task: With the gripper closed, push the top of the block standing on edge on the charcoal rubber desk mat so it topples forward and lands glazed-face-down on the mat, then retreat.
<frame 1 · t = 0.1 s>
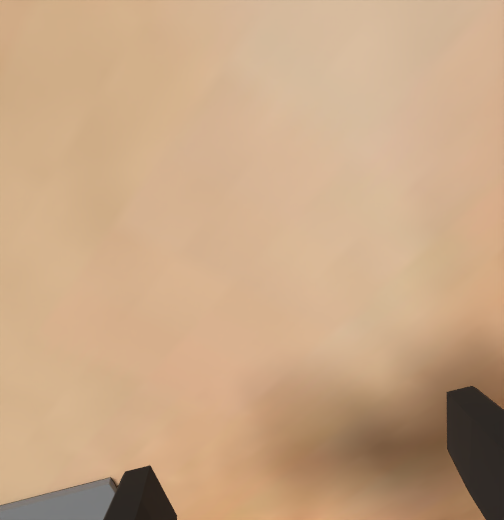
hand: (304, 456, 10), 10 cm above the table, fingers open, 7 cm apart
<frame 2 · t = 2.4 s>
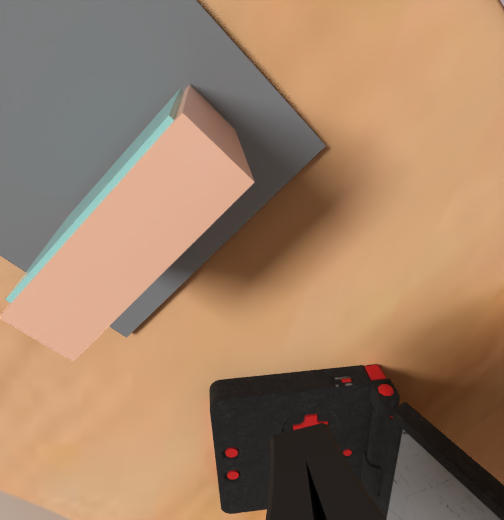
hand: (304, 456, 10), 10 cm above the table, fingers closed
handheld gaming console: (320, 425, 24), on the table
mat: (76, 127, 15), on the table
block: (149, 176, 16), resting on mat
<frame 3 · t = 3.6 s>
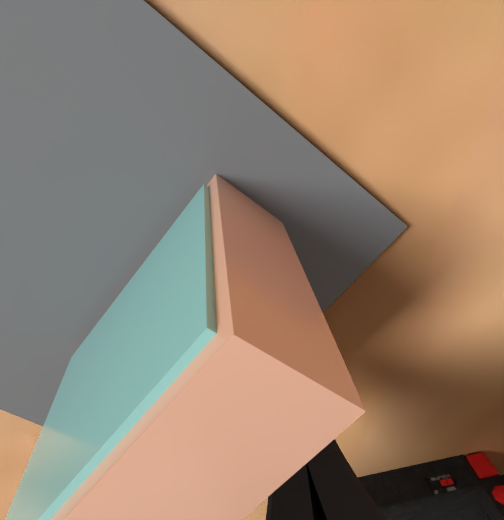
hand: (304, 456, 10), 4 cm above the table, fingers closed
mat: (68, 244, 11), on the table
block: (172, 294, 12), resting on mat
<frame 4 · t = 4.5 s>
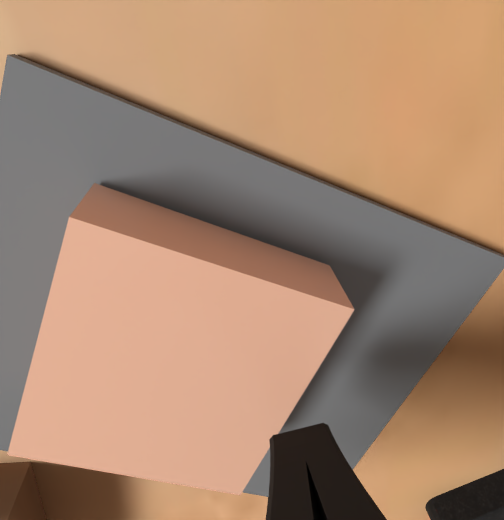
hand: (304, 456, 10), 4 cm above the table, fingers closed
mat: (216, 344, 13), on the table
block: (283, 383, 12), point 2 cm above the table, tilted 90°, touching mat
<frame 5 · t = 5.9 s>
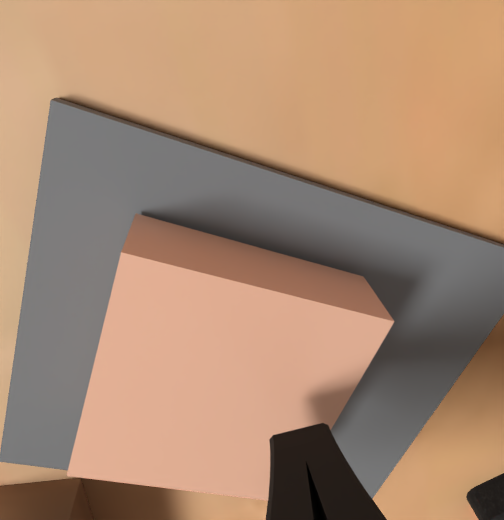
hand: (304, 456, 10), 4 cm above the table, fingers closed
mat: (254, 357, 14), on the table
walnut cube: (38, 515, 16), on the table
block: (324, 393, 13), point 2 cm above the table, tilted 90°, touching mat
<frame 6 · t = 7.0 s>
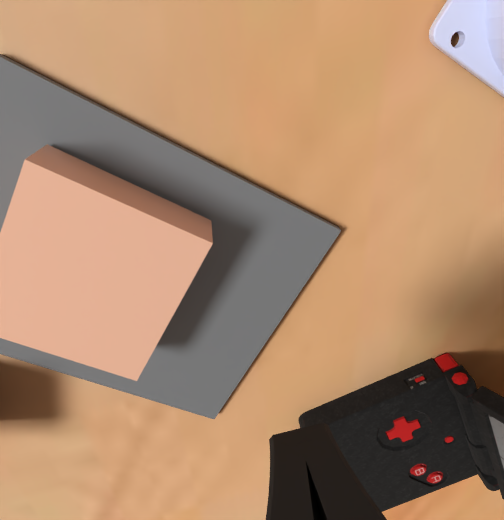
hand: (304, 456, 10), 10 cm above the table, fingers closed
handheld gaming console: (415, 419, 25), on the table
mat: (131, 275, 18), on the table
block: (173, 301, 17), point 2 cm above the table, tilted 90°, touching mat
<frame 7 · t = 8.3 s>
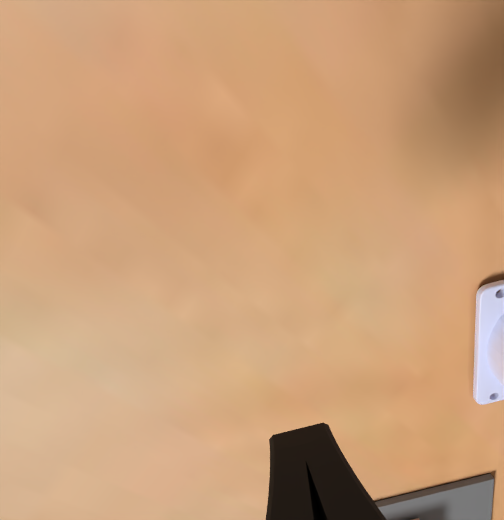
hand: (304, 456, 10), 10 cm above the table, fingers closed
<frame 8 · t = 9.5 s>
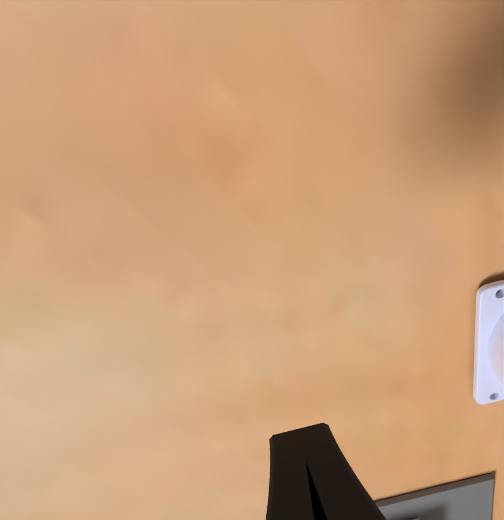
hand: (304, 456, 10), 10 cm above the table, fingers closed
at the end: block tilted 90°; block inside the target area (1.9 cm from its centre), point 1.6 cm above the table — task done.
